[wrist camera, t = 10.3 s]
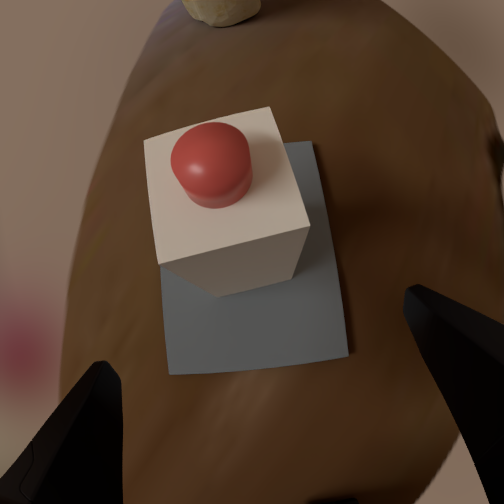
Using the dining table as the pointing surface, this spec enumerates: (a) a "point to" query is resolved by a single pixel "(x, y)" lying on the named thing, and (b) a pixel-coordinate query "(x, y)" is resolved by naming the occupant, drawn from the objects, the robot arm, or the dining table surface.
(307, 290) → the placemat
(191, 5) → the food model
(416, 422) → the dining table surface
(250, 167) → the big red button box
